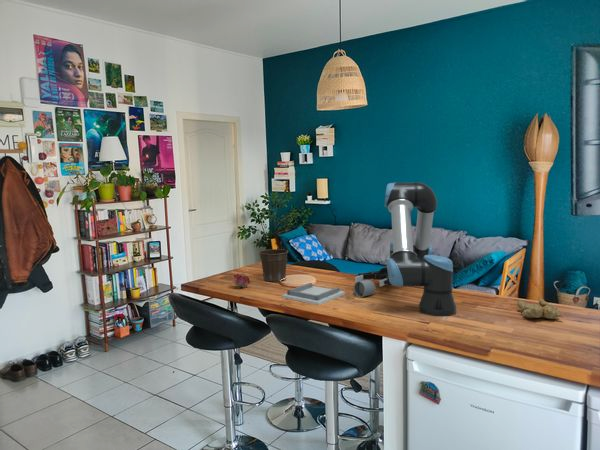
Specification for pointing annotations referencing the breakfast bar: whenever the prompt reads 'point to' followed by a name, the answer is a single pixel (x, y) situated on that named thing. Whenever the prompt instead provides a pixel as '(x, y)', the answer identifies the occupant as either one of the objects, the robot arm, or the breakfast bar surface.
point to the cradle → (313, 294)
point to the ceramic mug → (364, 288)
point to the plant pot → (274, 264)
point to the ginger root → (539, 310)
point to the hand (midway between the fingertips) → (367, 281)
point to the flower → (241, 280)
